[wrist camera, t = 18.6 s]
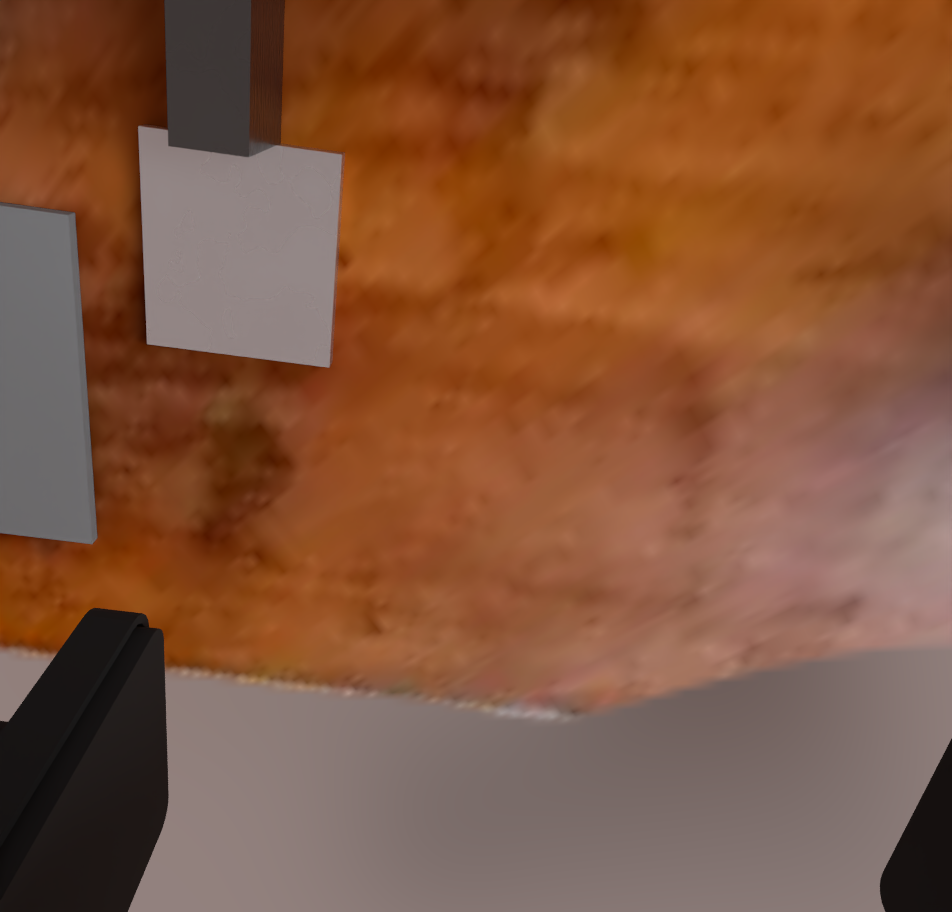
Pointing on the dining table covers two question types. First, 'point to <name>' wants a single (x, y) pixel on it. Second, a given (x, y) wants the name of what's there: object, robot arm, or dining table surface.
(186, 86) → the trowel
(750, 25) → the dining table surface
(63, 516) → the mat
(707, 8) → the dining table surface
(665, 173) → the dining table surface
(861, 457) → the dining table surface
